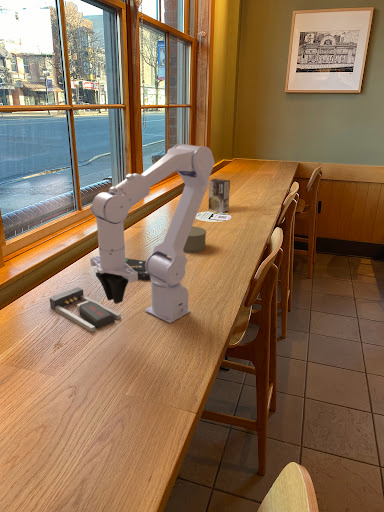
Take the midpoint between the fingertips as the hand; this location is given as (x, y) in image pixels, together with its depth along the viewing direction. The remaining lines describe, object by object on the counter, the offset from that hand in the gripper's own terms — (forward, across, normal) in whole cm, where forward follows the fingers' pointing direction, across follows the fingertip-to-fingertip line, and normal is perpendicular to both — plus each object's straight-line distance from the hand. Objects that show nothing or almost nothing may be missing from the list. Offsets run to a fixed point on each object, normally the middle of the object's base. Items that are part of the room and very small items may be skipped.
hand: (115, 300), depth 92 cm
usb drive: (+9, -10, +1) cm, 14 cm away
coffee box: (+9, -50, +109) cm, 120 cm away
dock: (+8, -14, 0) cm, 16 cm away
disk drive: (+9, -24, +27) cm, 37 cm away
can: (+9, -25, +57) cm, 63 cm away
